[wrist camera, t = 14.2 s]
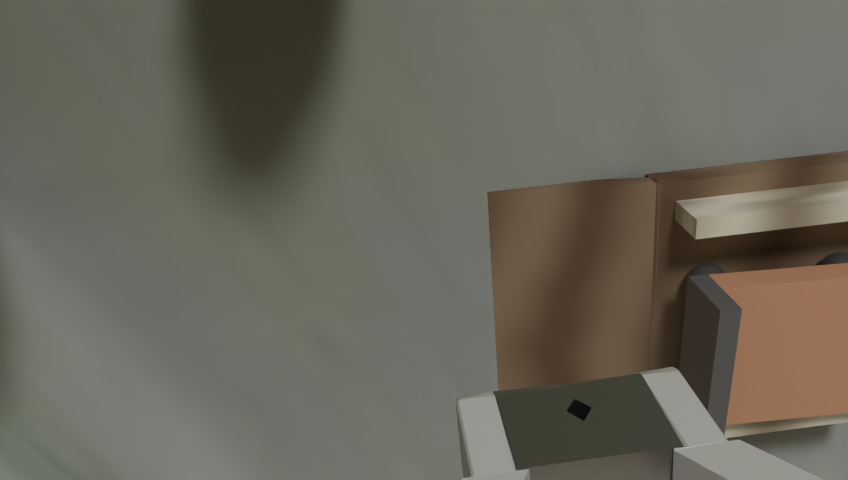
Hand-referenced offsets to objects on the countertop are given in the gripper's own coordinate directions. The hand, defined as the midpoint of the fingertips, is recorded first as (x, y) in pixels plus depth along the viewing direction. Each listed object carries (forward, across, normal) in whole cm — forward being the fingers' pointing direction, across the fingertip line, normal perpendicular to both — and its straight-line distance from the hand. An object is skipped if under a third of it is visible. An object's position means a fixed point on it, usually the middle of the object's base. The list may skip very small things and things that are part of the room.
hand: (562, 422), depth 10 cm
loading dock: (+28, -13, +15) cm, 35 cm away
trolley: (+26, -17, +16) cm, 35 cm away
